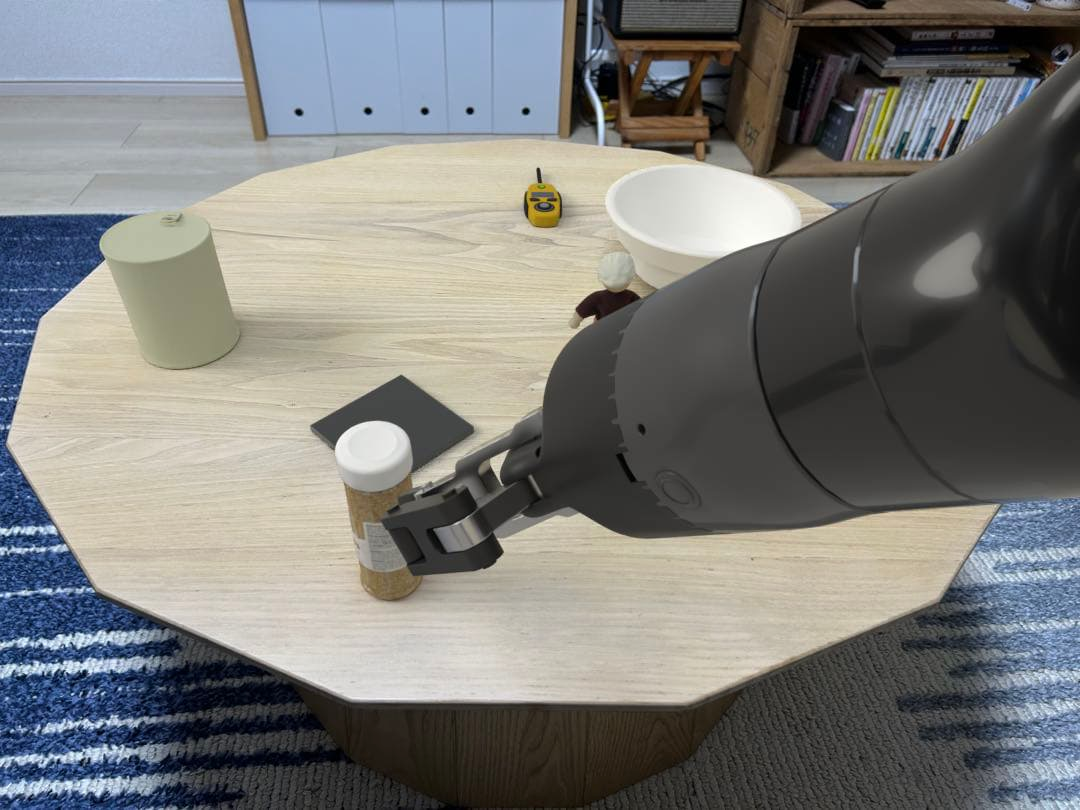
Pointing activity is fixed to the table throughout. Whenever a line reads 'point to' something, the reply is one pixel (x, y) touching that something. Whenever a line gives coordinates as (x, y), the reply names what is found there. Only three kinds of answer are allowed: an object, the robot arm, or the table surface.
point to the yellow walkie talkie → (542, 203)
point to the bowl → (693, 217)
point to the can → (172, 288)
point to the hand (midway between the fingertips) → (487, 467)
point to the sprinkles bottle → (376, 502)
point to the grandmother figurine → (608, 289)
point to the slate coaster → (400, 419)
